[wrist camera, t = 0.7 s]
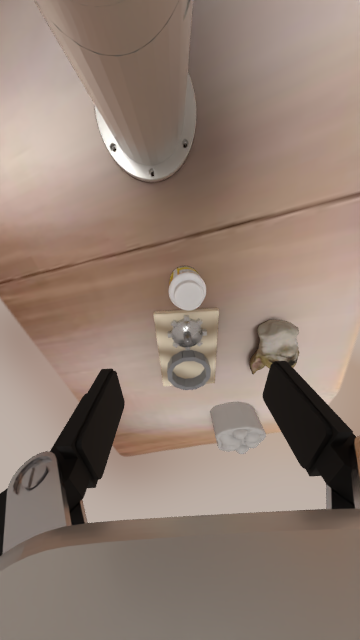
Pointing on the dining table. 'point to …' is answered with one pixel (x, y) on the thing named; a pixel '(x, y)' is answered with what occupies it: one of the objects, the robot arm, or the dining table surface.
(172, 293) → the supplement bottle
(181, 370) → the gear board
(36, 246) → the dining table surface
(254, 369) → the ceramic sculpture
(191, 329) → the gear
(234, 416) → the lumpy-topped squat cylinder
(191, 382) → the socket ring
